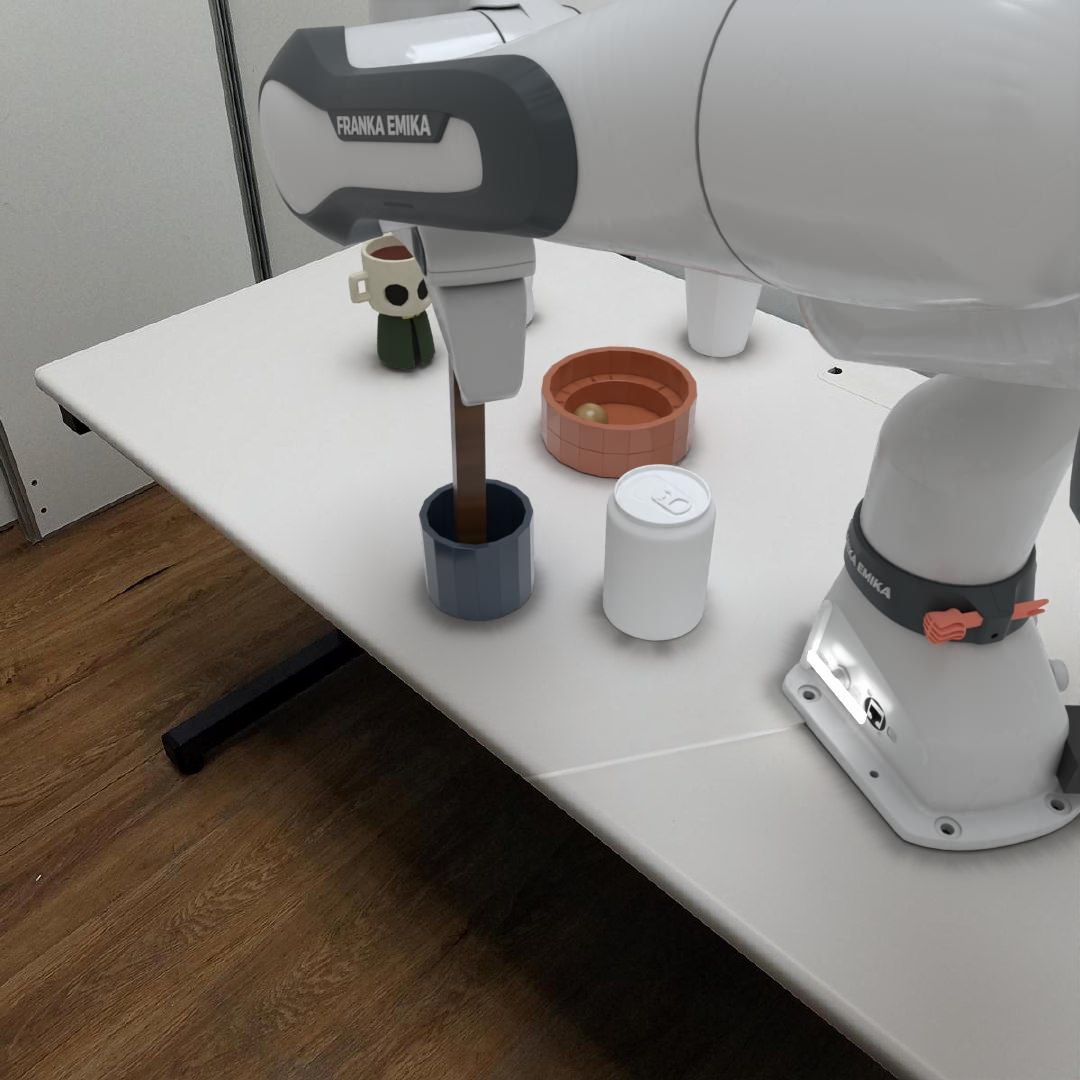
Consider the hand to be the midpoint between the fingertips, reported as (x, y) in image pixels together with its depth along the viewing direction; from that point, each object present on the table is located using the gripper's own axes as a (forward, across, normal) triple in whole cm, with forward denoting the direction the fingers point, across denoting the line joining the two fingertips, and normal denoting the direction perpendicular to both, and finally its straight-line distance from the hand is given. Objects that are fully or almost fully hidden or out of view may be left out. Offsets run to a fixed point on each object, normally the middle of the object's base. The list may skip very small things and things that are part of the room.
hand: (468, 386), depth 76 cm
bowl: (+20, -18, +17) cm, 32 cm away
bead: (+17, -18, +14) cm, 29 cm away
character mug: (+20, -38, -1) cm, 43 cm away
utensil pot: (+19, 0, 0) cm, 19 cm away
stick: (+16, 0, -1) cm, 16 cm away
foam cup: (+20, -33, +33) cm, 51 cm away
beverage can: (+20, +6, +13) cm, 24 cm away
